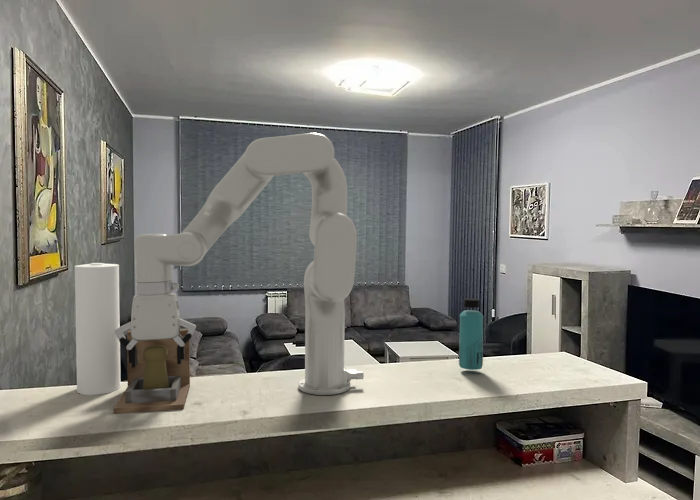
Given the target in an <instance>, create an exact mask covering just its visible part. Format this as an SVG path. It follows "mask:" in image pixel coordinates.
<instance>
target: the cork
mask: <svg viewBox="0 0 700 500" xmlns="http://www.w3.org/2000/svg"><path fill="white" fill-rule="evenodd" d="M167 356H168V351H167V349H166V347H165V346H161V345H153V346H149V347H147V348H145V350H144V352H143V357H144V360H145V361H146V365H145V373H144V381H143V389H160V388H169V382H168V375H167V369H166V362H165V359H166V358H167Z"/></svg>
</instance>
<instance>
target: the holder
mask: <svg viewBox="0 0 700 500" xmlns="http://www.w3.org/2000/svg"><path fill="white" fill-rule="evenodd" d="M187 333H188V329H187V328H185V329H184V328H183V329H182V328H180V333H179V334H180V335H181V336H182V337H184V336H185V335H186V334H187ZM126 338H127V339H129V340H130V341H131V340H132V336H131V330H127V332H126ZM190 342H191V339H190V340H189V341H188V342H187V343H186V344H185V345H184V353H185V359H182V362H181V364H177V346H178V344H177V343H176V342H175V341H174V340H173V339H165V340H149V341H138V342H137V343H136V344H135V347H136V348H137V359H138V364H137V365H136V367H134V368H132V363H129V353H128V350H127V349H126V353H127V354H126V357H127V360H126V362H127V373H126V374H127V387H126V389H125V390H124V392H123V393H122V394H121V397H119V399H118V401H117V402H116V404H115V406H114V407H113V410H112V411H113V412H112V413H113V414H126V413H127V414H128V413H141V412H142V413H143V412H158V411H171V410H172V411H176V410H184V408H185V406H186V402H187V399H188V394H189V391H190V388H191V364H190V363H191V357H190V356H191V352H190V351H191V350H190V347H191V346H190V345H191V344H190ZM153 345H161V346H165V347H166V349H167V351H168V356H167V358H166V359H165V362H166V369H167V375H168V382H169V388H160V389H143V381H144V373H145V365H146V361H145V360H144V357H143V352H144V350H145V348H147V347H149V346H153Z"/></svg>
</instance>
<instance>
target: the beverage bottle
mask: <svg viewBox="0 0 700 500" xmlns="http://www.w3.org/2000/svg"><path fill="white" fill-rule="evenodd" d="M463 301H464V302H463V307H465V308H472V309H473V308H474V309H476V308H479V307H480V300H479V299H478V298H464V300H463ZM472 309H471V310H469V309H467V310H466V309H465V310H463V311H462V312H460V314H459V337H458V338H459V340H458V347H459V348H458V365H459V367H460V368H461V369H463V370H464V369H465V370H470V371H477V370H481V369H482V368H483V365H484V315H483V314H482V313H481V312H480V311H479V310H472Z"/></svg>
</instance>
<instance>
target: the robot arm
mask: <svg viewBox="0 0 700 500" xmlns="http://www.w3.org/2000/svg"><path fill="white" fill-rule="evenodd" d="M296 174H303V175H304V176H305V177H306V178H307V179H308V180H309V183H310V186H311V210H310V211H311V212H310V224H309V231H308V232H309V233H308V235H309V239H310V242H311V243H312V244H311V245H313V246H314V249H313V251H314V253H313V261H311V262H310V263H309V264H308V265H307V267H306V269H305V272H304V276H303V291H304V305H305V306H304V309H305V310H304V311H305V313H304V315H305V317H304V319H305V321H304V323H305V324H304V327H305V328H304V329H305V330H304V334H305V335H304V336H305V337H304V344H305V345H304V353H305V354H304V378H302V379H300V380H299V382H298V389H299V390H300V391H301V392H303V393H306V394H310V395H316V396H317V395H318V396H330V395H331V396H332V395H338V394H342V393H345V392H347V391H349V390H350V389H351V381H352V380H363V379H364V377H365V375H364V372H363V371H362V370H361V371H360V370H359V371H357V370H356V369H349V370H348V369H346V367H345V330H346V329H345V325H346V324H345V321H346V317H345V316H346V315H345V313H346V312H345V311H346V310H345V307H346V306H345V300H346V298H347V297H348V296H349V295H350V294H351V291H352V290H353V287H354V283H355V274H356V264H357V263H356V261H357V245H358V244H357V243H358V237H357V236H358V235H357V229H356V226H355V224H354V222H353V220H352V219H351V218H350V217H349V216H348V184H347V183H348V182H347V177H346V174H345V171H344V170H343V168H342V167H341V165H340V163H339V162H338V160H337V159H336V158H335V147H334V144H333V143H332V141H331V140H330V138H328V137H327V136H326V135H325V134H322V133H317V132H308V133H307V132H306V133H299V134H298V133H297V134H291V135H290V134H288V135H280V136H268V137H262V138H261V137H260V138H257V139H255V140H253V141H252V142H250V144H249V145H247V147H246V150H245V151H244V152H243V154H242V155H241V157H239V158H238V160H237V161H236V162H235V163H234V164H233V166H232V167H231V168H230V169H229V170H228V172H227V173H226V174H225V175H224V176H223V177H222V179H220V181H219V182H218V183H217V184H216V185H215V186H214V188H213V189H212V191H211V192H210V194H209V195H208V197H207V200H206V201H205V203H204V205H203V206H202V207H201V208H200V210H199V211H198V213H197V214H196V215H195V216H194V218H193V219H192V220H191V221H190V222H189V223H188V225H187V226H186V227H185V228H184V229H183V230H182V232H181V233H174V234H166V233H143V234H139V235H138V234H137V236H135V239H134V259H135V260H134V261H135V263H134V264H135V286H136V287H135V290H136V294H135V295H133V298H132V306H131V315H130V316H131V317H130V318H131V321H128V322H127V323H125V324H123V325H120V327H119V328H118V329H116V330H115V331H114V333H115V335H116V336H117V338H118V339H119V342H120V345H122V346H124V348H126V351H127V350H128V353H129V363H132V368H134V367H136V365H137V364H138V359H137V348H136V347H135V344H136V343H137V342H138V341H149V340H165V339H173V340H174V341H175V342H176V343H177V344H178V346H177V364H181V362H182V359H185V353H184V345H185V344H186V343H187V342H188V341H189V340H190V341H191V339H192V336H193V335H194V332H195V331H196V330H197V329H196V328H197V325H196V324H194V323H192V322H189V321H187V320H185V319H183V318H181V317H180V305H179V302H178V301H179V300H178V297H177V294H176V292H174V290H179V289H180V283H179V282H176V281H175V282H174V281H173V279H172V275H173V274H172V270H173V269H172V266H181V267H192V266H195V265H197V264H199V263H200V262H201V261H202V260H203V259H204V257H205V255H206V254H207V253H208V251H209V250H210V249H211V248H212V247H213V245H214V244H215V243H216V242H217V241H218V239H219V238H220V237H221V236H222V235H223V234H224V232H225V231H226V230H227V229H228V228H229V227H230V226H231V225H232V224H233V223H235V222H236V221H237V220H238V219H239V218H240V217H241V216H242V215H243V214H244V212H245V211H246V210H247V209H248V207H250V205H251V204H252V203H253V201H255V199H256V198H257V197H258V196H259V195H260V193H261V192H262V191H263V189H264V188H265V187H267V185H268V184H269V183H270V182H271V180H272V179H273V178H274V177H277V176H278V177H279V176H287V175H296ZM181 327H184V328H185V329H188V333H187V334H186V335H185V336H184V337H182V336H181V335H180V334H179V333H180V329H181ZM129 329H130V331H131V336H132V340H131V341H130V340H129V339H127V336H125V333H124V332H126V331H129Z"/></svg>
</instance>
